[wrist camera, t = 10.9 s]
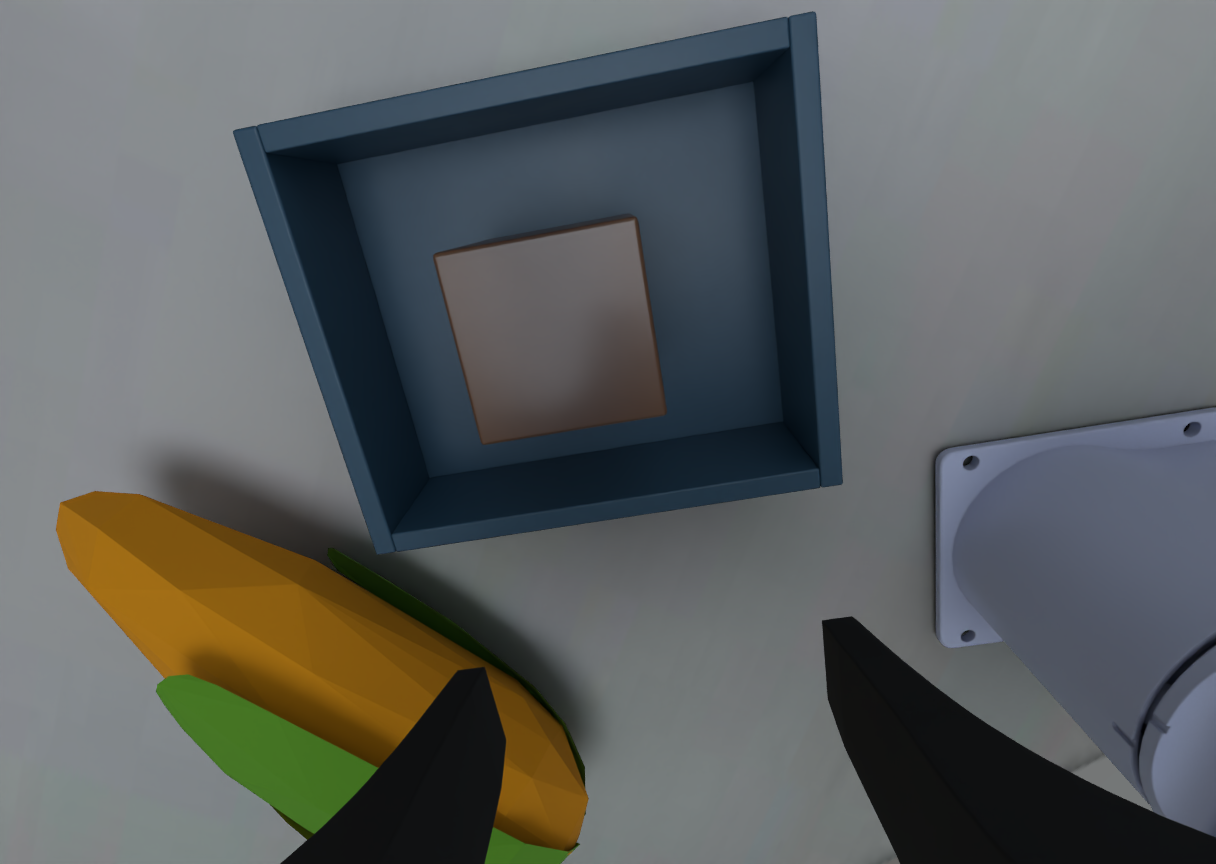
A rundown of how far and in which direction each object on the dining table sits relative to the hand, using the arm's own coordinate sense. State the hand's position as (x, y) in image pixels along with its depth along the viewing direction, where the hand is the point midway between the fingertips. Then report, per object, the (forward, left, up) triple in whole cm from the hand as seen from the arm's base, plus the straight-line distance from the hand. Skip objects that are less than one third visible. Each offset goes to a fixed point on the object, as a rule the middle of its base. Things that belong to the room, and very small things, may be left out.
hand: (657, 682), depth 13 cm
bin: (+1, -7, -9) cm, 12 cm away
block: (+1, -7, -9) cm, 11 cm away
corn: (+11, +4, -10) cm, 15 cm away
